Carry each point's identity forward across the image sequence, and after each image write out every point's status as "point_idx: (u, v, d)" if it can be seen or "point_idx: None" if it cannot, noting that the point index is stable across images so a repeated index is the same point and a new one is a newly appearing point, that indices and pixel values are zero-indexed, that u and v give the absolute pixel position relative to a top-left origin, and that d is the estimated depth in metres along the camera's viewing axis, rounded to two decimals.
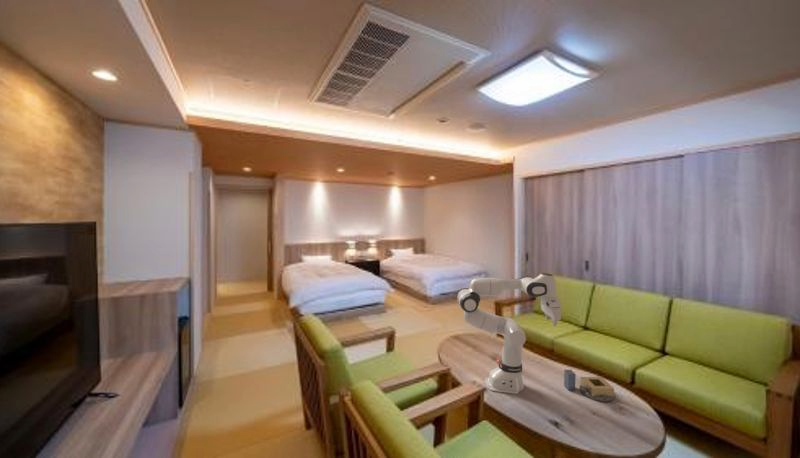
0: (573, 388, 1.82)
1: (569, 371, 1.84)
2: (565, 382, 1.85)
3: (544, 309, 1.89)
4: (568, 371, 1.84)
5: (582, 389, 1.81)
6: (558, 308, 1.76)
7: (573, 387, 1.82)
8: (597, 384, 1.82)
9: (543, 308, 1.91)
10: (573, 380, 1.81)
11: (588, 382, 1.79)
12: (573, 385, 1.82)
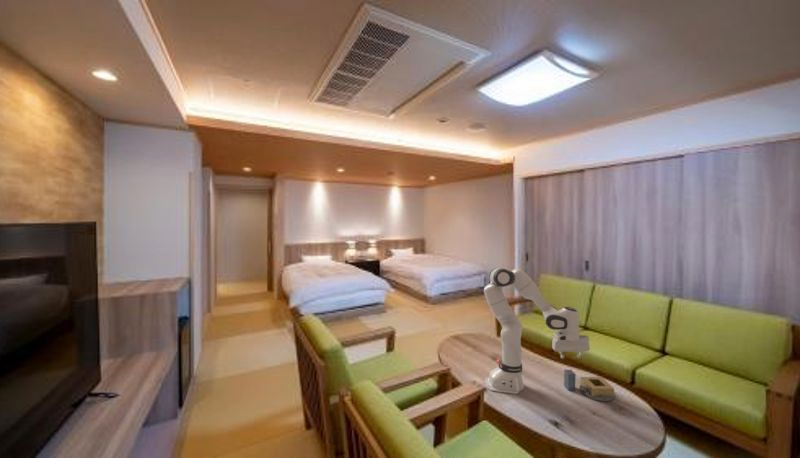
0: (573, 388, 1.82)
1: (569, 371, 1.84)
2: (565, 382, 1.85)
3: None
4: (568, 371, 1.84)
5: (582, 389, 1.81)
6: (556, 340, 1.82)
7: (573, 387, 1.82)
8: (597, 384, 1.82)
9: None
10: (573, 380, 1.81)
11: (588, 382, 1.79)
12: (573, 385, 1.82)
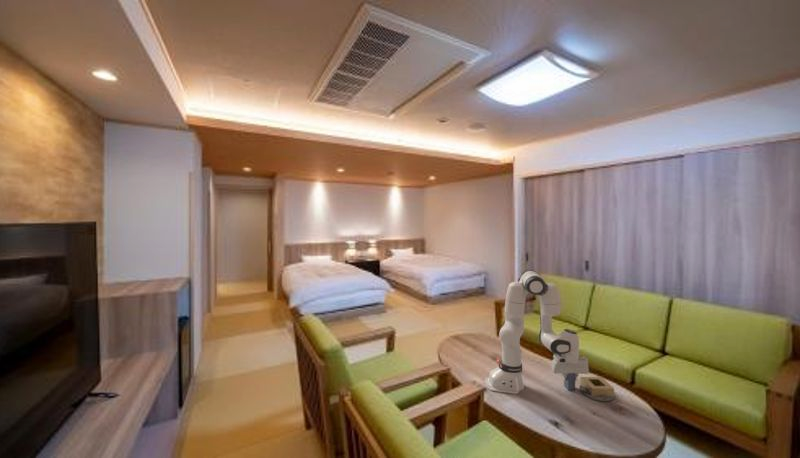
0: (573, 388, 1.82)
1: None
2: (565, 382, 1.85)
3: None
4: None
5: (582, 389, 1.81)
6: (555, 362, 1.82)
7: (573, 387, 1.82)
8: (597, 384, 1.82)
9: None
10: (573, 380, 1.81)
11: (588, 382, 1.79)
12: (573, 385, 1.82)
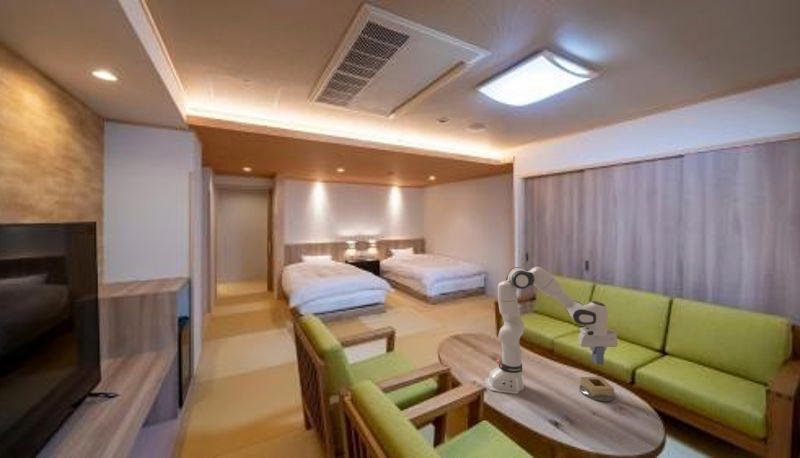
0: (601, 362, 1.75)
1: None
2: (593, 356, 1.78)
3: None
4: None
5: (582, 389, 1.81)
6: (583, 335, 1.76)
7: (601, 361, 1.75)
8: (597, 384, 1.82)
9: None
10: (601, 354, 1.75)
11: (588, 382, 1.79)
12: (601, 359, 1.75)
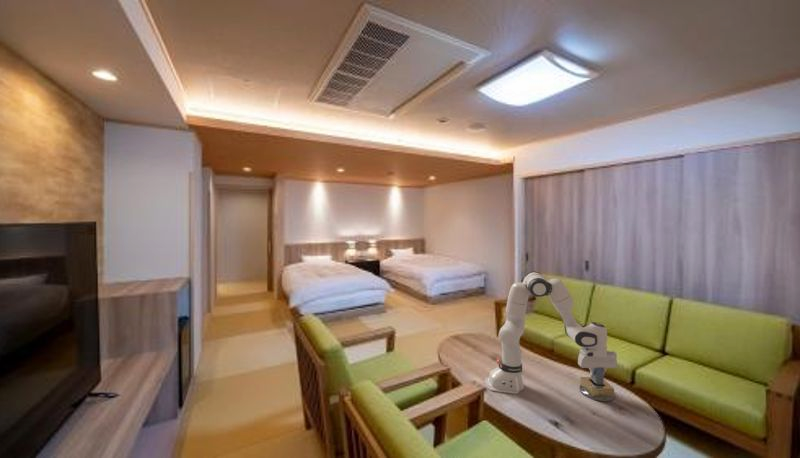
0: (601, 383, 1.76)
1: None
2: (593, 377, 1.79)
3: None
4: None
5: (582, 389, 1.81)
6: (583, 356, 1.77)
7: (601, 382, 1.76)
8: None
9: None
10: (601, 375, 1.76)
11: (588, 382, 1.79)
12: (601, 380, 1.76)
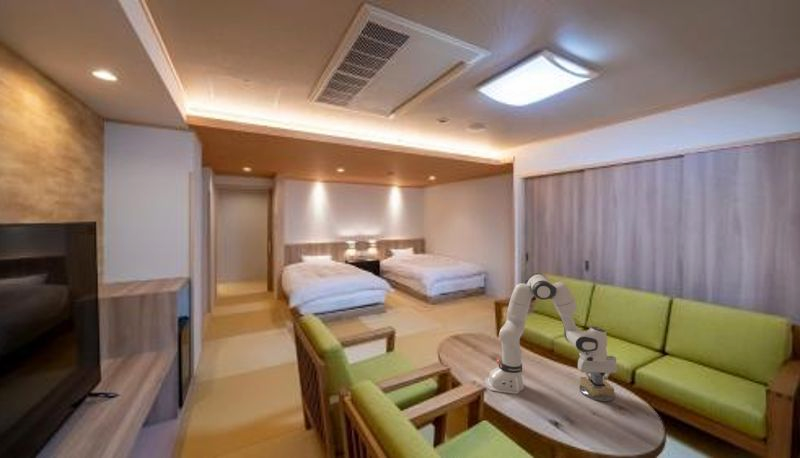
0: None
1: (596, 373, 1.79)
2: None
3: None
4: (595, 373, 1.79)
5: (582, 389, 1.81)
6: (582, 360, 1.77)
7: None
8: None
9: None
10: (600, 383, 1.76)
11: (588, 382, 1.79)
12: None
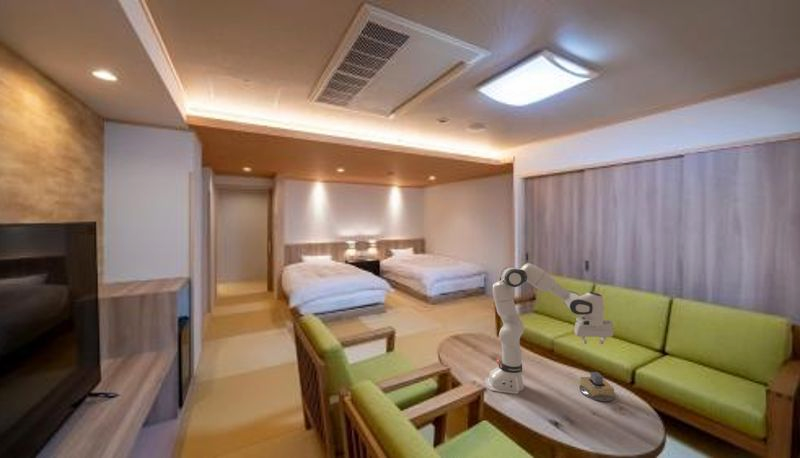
0: None
1: (596, 373, 1.79)
2: None
3: None
4: (595, 373, 1.79)
5: (582, 389, 1.81)
6: (579, 324, 1.78)
7: None
8: None
9: None
10: (600, 383, 1.76)
11: (588, 382, 1.79)
12: None
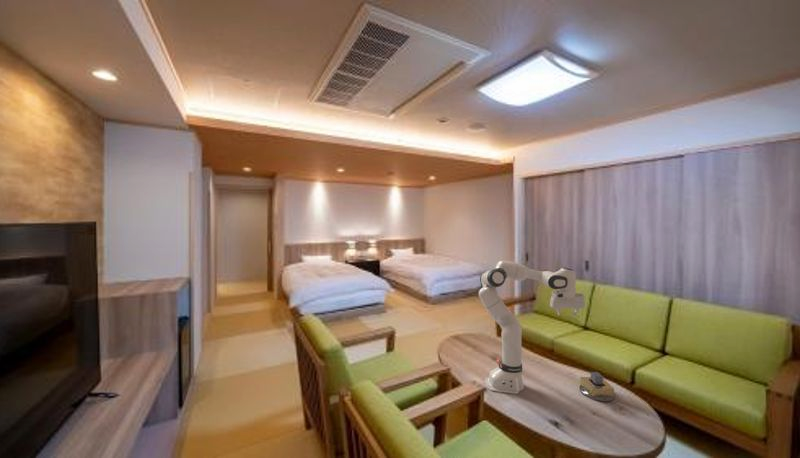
0: None
1: (596, 373, 1.79)
2: None
3: None
4: (595, 373, 1.79)
5: (582, 389, 1.81)
6: (554, 297, 1.95)
7: None
8: None
9: None
10: (600, 383, 1.76)
11: (588, 382, 1.79)
12: None
